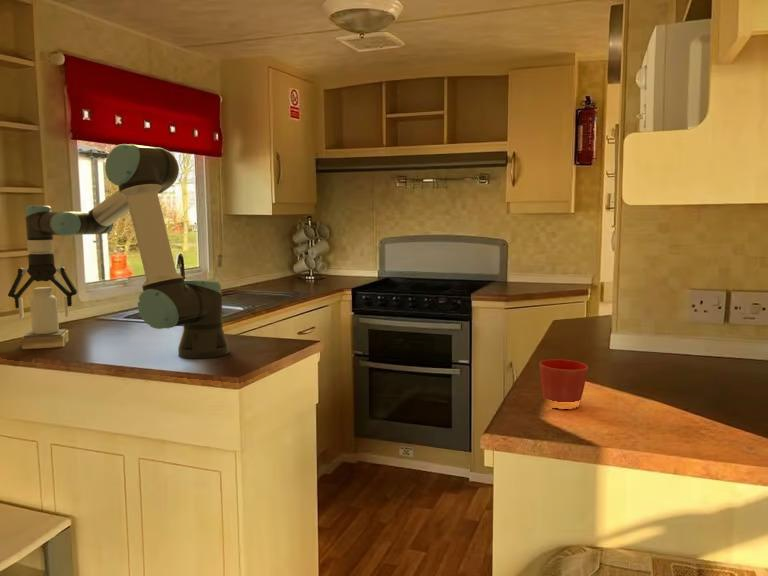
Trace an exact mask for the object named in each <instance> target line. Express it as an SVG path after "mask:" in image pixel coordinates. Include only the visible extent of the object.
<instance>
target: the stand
mask: <svg viewBox="0 0 768 576" xmlns="http://www.w3.org/2000/svg"><path fill="white" fill-rule="evenodd" d="M69 332H70V331H69V329H67V328H59V331H58V332H56V333H51V334H33V332H32V330H29V332H27V333H26V334H25V335H23V336H22V337H21V350H29V349H44V348H45V349H48V348H49V349H50V348H62V347H65V345H66V344H67V343H68V341H69V340H70V339H69V338H70V337H69Z"/></svg>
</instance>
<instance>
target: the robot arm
mask: <svg viewBox="0 0 768 576" xmlns="http://www.w3.org/2000/svg"><path fill="white" fill-rule="evenodd" d="M104 165H105V166H104V169H105V175H106V178H107V179H108V181H109V182H110V183H111V184H113V185H115V186H117V187H118V189H117V190H116V191H115V192H113V193H112V194H111V195H109V196H108V197H107V198H106V199H104V200H103V201H101V202H100V203H98V204H97V205H96V206H95V207H92V209H90V210H89V211H66V210H65V211H52V207H51V206H50V205H28V206H26V207H25V218H24V219H25V224H26V225H25V226H26V237H27V238H26V239H27V242H26V243H27V252H28V253H29V254H28V255H27V256H28V257H27V258H28V268H23V267H19V268H18V269H17V275H16V277H15V279H14V282H13V283H12V286H11V287H10V290H9V292H8V294H7V296H8V297H9V298H13V299H14V303H15V305H14V306H15V307H14V308H15V309H18V314H19V319H20V320H21V319H24V318H25V312H24V298H23V297H22V296H23V294H24V293H25V291H27V289H28V288H29V287H30V286H31V285H32V284H33V282H48V281H51V283H53V284H54V285H55V286H56V287H57V288H58V289H59V290H60V291H61V292H62V293H63V294H64V295H65V296H64V314H65V315H64V317H65V318H66V317H67V318H68V317H69V316H70V308H69V307H71V306H72V305H73V299H72V298H73V296H75V295H77V294H78V290H77V289H76V287H75V285H74V284H73V282H72V280H71V279H70V277H69V276H68V273H67V270H66V267H65V266H61V267H56V266H55V254H54V253H53V252H54V251H55V250H54V249H55V248H54V236H61V237H65V236H66V237H67V236H79V235H104V234H105V235H106V234H108V233H111V232H112V231H113V228H114V224H115V222H117V221H118V220H119V219H121V218H123V217H124V216H126V215H127V214H128V213H130V216H131V220H132V222H131V223H132V225H133V230H134V232H135V233H134V234H135V238H136V242H137V246H138V250H139V255H140V259H141V263H142V267H143V271H144V275H145V281H144V283H143V284H142V287H141V288H142V292H141V293H140V295H139V296H138V301H137V309H138V310H137V311H138V313H139V315H140V317H141V318H142V321H144V323H145V324H146V325H149V327H151V328H153V329H157V330H161V329H170V328H174V327H180V326H183V331H182V335H181V338H180V341H179V345H178V352H177V353H178V356H179V357H181V358H183V359H184V358H185V359H195V360H196V359H197V360H198V359H210V358H211V359H212V358H219V357H222V356H226V355H228V354H229V352H230V349H229V343H228V340H227V337H226V334H225V332H224V329H223V293H222V286H221V283H220V282H218V281H213V280H199V279H197V280H196V279H185V278H184V276H183V275H180V274H179V273H178V272H177V269H176V265H175V261H174V255H173V252H172V247H171V243H170V239H169V237H168V233H167V232H168V231H167V227H166V223H165V219H164V215H163V211H162V207H161V201H160V198H159V197H160V196H159V194H162V193H163V192H165V191H166V190H168V189H169V188H170V187H172V186H173V185H174V184H175V183H176V182H177V180H178V177H179V171H180V169H179V167H180V166H179V163H178V160H177V158H176V157H175V155H174V154H173V153H171V152H170V150H167V149H164V148H162V147H159V146H158V147H156V146H155V147H154V146H147V145H146V146H145V145H139V144H134V143H129V144H127V143H122V144H118V145H116V146H114V147H113V148H112V149H111V150H110V151H109V153H108V155H107V157H106V160H105V164H104ZM56 273H58V274H59V275H61V277H62V279H63V280H64V282H65V284H66V285H67V287H68V288H69V289H67V287H66V286H64V285H63V284H62V283H61V281H59V279H58V278H57V277H56V276H55V274H56ZM26 274H28V275H29V276H30V277H29V278H28V280H27V281H26V282H25V283H24V284H23V285H22V287H21V288H20V289H19V290H18V291H17V289H18V287H19V286H20V283H21V281H22V279H23V277H24V276H25V275H26ZM16 291H17V292H16Z"/></svg>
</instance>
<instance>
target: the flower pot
mask: <svg viewBox="0 0 768 576" xmlns="http://www.w3.org/2000/svg"><path fill="white" fill-rule="evenodd" d="M538 365H539V375H540V381H541V382H540V383H541V392H542V395H543V397H544V398H546V399H549V400H552V401H557V402H575V401H579V400H581V401H582V397H583V394H584V389H585V384H586V381H587V376H588V371H589V366H588V365H587V364H586V363H584V362H580V361H577V360H569V359H561V358H560V359H559V358H558V359H555V358H554V359H545V360H541V361H540V362H539V364H538ZM544 398H543V399H544ZM572 410H573V411H574V410H575V409H568V410H567V411H572ZM560 411H565V410H564V409H560Z"/></svg>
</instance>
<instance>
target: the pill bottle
mask: <svg viewBox="0 0 768 576" xmlns="http://www.w3.org/2000/svg"><path fill="white" fill-rule="evenodd" d="M33 294H34V295H35V296H32V297H30V300H29V303H30V304H29V305H30V306H29V307H30V317H31V319H30V320H31V331H32V332H33V334H51V333H56V332H58V331H59V329H60V322H59V310H58V309H59V308H58V307H59V305H58V299H57V296H55V295H53V289H52V287H51V286H40V287H35V288H33Z"/></svg>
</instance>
